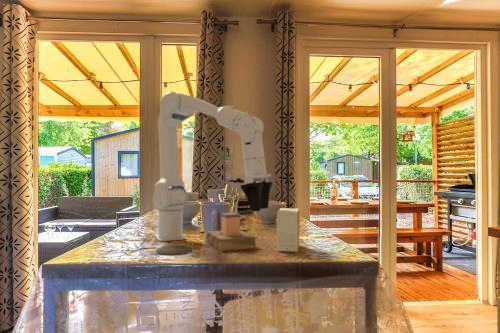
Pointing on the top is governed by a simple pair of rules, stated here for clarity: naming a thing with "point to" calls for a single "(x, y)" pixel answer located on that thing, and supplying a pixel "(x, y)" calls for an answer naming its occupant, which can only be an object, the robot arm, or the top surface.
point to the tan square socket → (230, 241)
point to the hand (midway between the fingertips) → (260, 209)
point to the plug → (230, 224)
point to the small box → (288, 229)
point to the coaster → (174, 250)
